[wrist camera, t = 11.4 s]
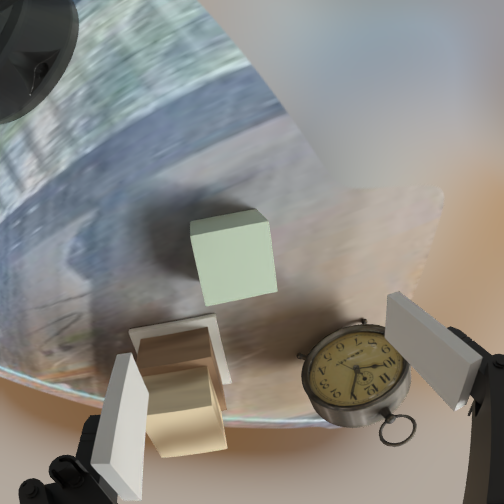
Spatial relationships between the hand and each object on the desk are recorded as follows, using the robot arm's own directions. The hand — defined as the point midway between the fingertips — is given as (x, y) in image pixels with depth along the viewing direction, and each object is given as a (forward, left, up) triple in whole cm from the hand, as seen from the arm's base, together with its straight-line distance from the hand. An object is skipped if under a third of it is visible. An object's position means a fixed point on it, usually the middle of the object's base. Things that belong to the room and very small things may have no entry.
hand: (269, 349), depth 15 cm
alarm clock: (+14, +10, -16) cm, 23 cm away
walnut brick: (+11, -7, -15) cm, 20 cm away
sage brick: (0, 0, -16) cm, 16 cm away
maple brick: (+11, -7, -10) cm, 17 cm away
